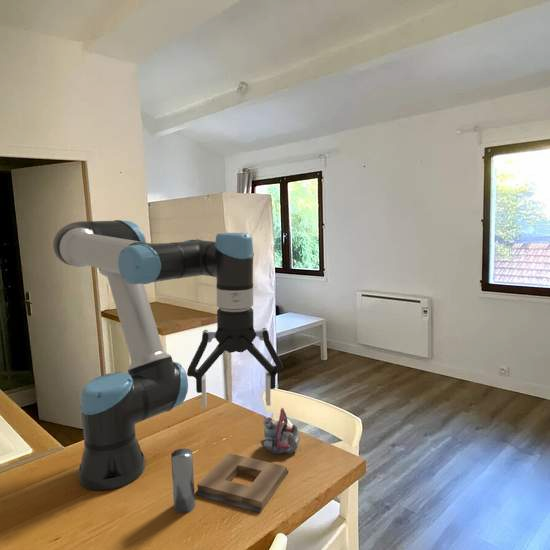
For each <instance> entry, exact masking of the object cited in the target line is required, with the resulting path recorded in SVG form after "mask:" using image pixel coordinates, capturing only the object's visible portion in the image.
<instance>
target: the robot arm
mask: <svg viewBox="0 0 550 550" xmlns="http://www.w3.org/2000/svg"><path fill="white" fill-rule="evenodd" d="M52 248H53V253H54V255H55V256H56V257H57V259H58V260H59V261H61V262H62V263H64V264H66V265H68V266H72V267H75V268H83V267H86V266H88V267H93V268H96V269H98V271H99V273H100V274H101V275H102V276H104V277H106V278H107V280H108V283H109V289H110V291H111V294H112V297H113V298H112V299H113V302H114V304H115V305H114V306H115V309H116V312H117V315H118V320H119V323H120V327H121V330H122V334H123V337H124V341H125V344H126V348H127V351H128V354H129V357H130V361H131V362H130V364H129V366H128V368H127V372H124V371H121V372H119V371H118V372H117V371H116V372H114V373H111V372H110V373H106V374H103V375H100V376H98V377H96V378H93V379H92V380H90V381H89V382H87V383H86V384H85V385H84V387H83V388H82V389H81V392H80V407H79V408H80V412H81V421H82V431H83V443H84V449H83V452H82V456H81V457H82V458H81V463H80V464H79V468H78V481H79V484H80V485H81V486H82V487H83V488H85V489H88V490H93V491H108V490H113V489H118V488H121V487H124V486H126V485H128V484H130V483H131V482H133V481H135V480H136V479H138V478H139V477H140V476H141V475H142V473H144V470H145V468H146V463H145V462H146V461H145V455H144V452H143V451H142V449H141V446H140V444H139V441H138V439H137V436H136V435H137V434H136V424H139V423H140V422H143V421H146V420H149V419H150V418H153V417H155V416H159V415H160V414H163V413H166V412H170V411H172V410H173V409H175V408H177V407H178V406H181V405H182V404H183V403H184V401H185V400H186V398H187V395H188V391H189V379H188V377H189V378H190V377H193V378H195V385H196V389H195V390H196V393H197V394H201V408H202V410H206V409H207V377H206V373H207V372H208V370H209V369H210V368H211V367H212V366H213V365H214V364H215V362H216V361H217V360H218V359H219V358H220V357H221V356H222V355H223V354H224V352H228V353H236V352H238V353H244V352H245V351H246V350H247V351H248V352H249V354H250V355H252V356H253V357H254V358H255V359H256V361H257V362H258V363H259V364H260V365H261V366H262V367H263V368H264V369H265V403H266V404H265V405H266V406H267V407H268V406H271V390H275V389H276V376H277V374H279V373H284V371H285V368H284V365H283V363H282V361H281V359H280V358H279V355H278V354H277V351H276V350H275V348H274V346H273V344H272V342H271V339H270V336H269V335H270V334H269V330H268V329H267V327H263V328H262V329H259V330H255V329H254V309H253V308H252V307H253V306H254V246H253V237H252V235H250V234H249V233H247V232H220V233H217V234H216V236H215V241H212V240H211V241H210V240H204V239H203V240H202V239H197V238H196V239H187V240H184V241H177V242H176V241H175V242H165V243H160V242H159V243H150V242H147V240H146V236H145V233H143V231H142V229H141V227H139V225H137V224H136V223H134V222H133V221H129V220H121V219H115V220H96V221H95V220H93V221H92V220H91V221H89V220H88V221H86V220H85V221H84V220H83V221H82V220H81V221H75V222H71V223H69V224H68V223H67V224H66V225H65V226H64V225H63V227H61V228H60V229H59V230H58V231H57V232H56V234H55V236H54V238H53V241H52ZM198 276H199V277H200V276H209V277H214V278H216V285H215V286H216V307H218V308H217V310H216V314H217V315H216V318H217V319H216V325H217V326H216V331H209V330H208V329H204V330H203V331H202V337H201V341H200V343H199V345H198V348H197V350H196V352H195V354H194V355H193V357H192V359H191V362H190V364H189V366H188V368H187V372H186V370H185V368H184V367H183V366H182V364H180V363H179V362H178V361H177V362H175V361H173V357H172V355H171V354H169V353H167V352H166V351H164V347H163V345H162V341H161V338H160V335H159V330H158V327H157V323H156V321H155V317H154V314H153V311H152V308H151V304H150V300H149V298H148V297H149V296H148V294H147V291H146V288H145V285H147V284H149V285H150V284H151V283H156V282H162V281H168V280H176V279H185V278H191V277H198ZM256 338H258V339H259V340H260V341H263V343H264V346H265V348H266V350H267V351H268V353H269V355H270V357H271V359H272V361H273V363H274V365H273V364H272V363H271V362H270V361H269V360H268V359H267V358H266V357H265V355H264V354H263V353H262V352H261V351H260V350H259V349H258V348H257V346H256V345H255V344H254V343H253V342H254V341H255V339H256ZM213 339H215V340H216V341H217V342H218V344H217V345H216V347H215V348H214V349H213V351H212V352H211V353H210V355H208V357H207V358H206V359H205V360H204V361H203V363H202V364H201V365H200V367H199V368H197V367H198V365H199V363H200V360H201V359H202V357H203V355H204V353H205V351H206V349H207V346H208V343H211V342H212V341H213Z"/></svg>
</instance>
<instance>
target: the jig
mask: <svg viewBox="0 0 550 550" xmlns="http://www.w3.org/2000/svg"><path fill="white" fill-rule="evenodd" d="M238 474H241V475H246V476H249V477H254V478H255V479H254V480H253V481H252V482H251V484H250V485H246V484H242V483H239V482H234V481H232V480H233V479H234V478H235V477H236V476H237V475H238ZM288 474H289V469H288V466H286V465H282V464H277V463H275V462H274V463H273V462H269V461H264V460H261V459H260V460H259V459H256V458H250V457H247V456H242V455H237V454H233V453H229V452H228V453H227V454H226V455H225V456H224V457H223V458H222V459H221V460H220V461H219V462H218V463H217V464H216V465H215V466H214V467H213V468H212V469H211V470H209V472H208V473H207V474H206V475H205V476H204V477H203V478H202V479H201V480H200V481H199V482H198V483H197V487H196V488H197V490H196V492H195V496H198V497H202V498H206V499H209V500H212V501H216V502H219V503H224V504H227V505H230V506H235V507H238V508H242V509H243V510H244V509H245V510H247V511H248V510H249V511H251V512H255V513H259V514H260V513H262V511H263V510H264V509H265V507H266V506H267V504H268V503H269V501H270V500H271V498H272V497H273V495H274V494H275V493H276V491H277V490H278V488H279V487H280V485H281V484H282V482H283V481H284V479H285V478H286V476H287V475H288Z"/></svg>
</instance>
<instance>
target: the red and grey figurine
mask: <svg viewBox="0 0 550 550" xmlns="http://www.w3.org/2000/svg"><path fill="white" fill-rule="evenodd" d="M262 424H263V426H264V430H263V432H264V433H263V434H264V435H263V436H264V438H265V440H264V441H261V442H260V445H261V446H263V447H264V448H265V449H267V450H268V451H269V452H270V453H271V454H273V455H274V454H275V455H279V454H294V453H296V451H297V449H298V445H299V442H300V439H301V436H300V433H299V430H298V426H297V425H296V424H292V425H291V427H290V428H289V427H288V417H287V413H286V411H285V409H284V407H281V408H280V412H279V419H277V420H275V419H274V420H273V419H272V417H271V416H269V417H268V416H266V417H264V420H263V423H262Z"/></svg>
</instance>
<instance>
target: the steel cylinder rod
mask: <svg viewBox="0 0 550 550" xmlns="http://www.w3.org/2000/svg"><path fill="white" fill-rule="evenodd" d="M170 457H171V458H170V459H171V460H170V461H171V477H172V478H171V479H172V493H173V494H172V495H173V510H174V511H175V513H178V514H188V513H190V512H191V511H192V510H193V509H195V507H196V500H195V499H196V497H195V496H196V493H195V482H194V481H195V480H194V479H195V476H194V460H193V459H194V456H193V450H191V449H189V448H179V449H175V450H174V451H173V452H172V453H171V456H170Z"/></svg>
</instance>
